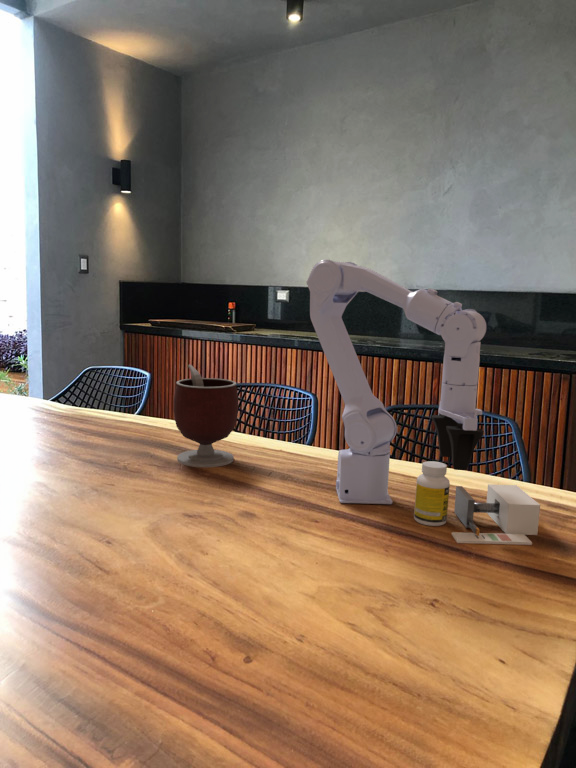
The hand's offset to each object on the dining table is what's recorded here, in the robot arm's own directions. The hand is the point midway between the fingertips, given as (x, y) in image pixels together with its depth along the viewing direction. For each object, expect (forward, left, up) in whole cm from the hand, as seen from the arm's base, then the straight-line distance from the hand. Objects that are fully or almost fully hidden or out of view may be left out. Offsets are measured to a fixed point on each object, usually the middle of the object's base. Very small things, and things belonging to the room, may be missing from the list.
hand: (453, 462), depth 104 cm
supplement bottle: (-4, -2, -10) cm, 11 cm away
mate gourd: (-46, +32, -10) cm, 57 cm away
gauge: (+5, -4, -10) cm, 12 cm away
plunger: (+5, -5, -9) cm, 11 cm away
